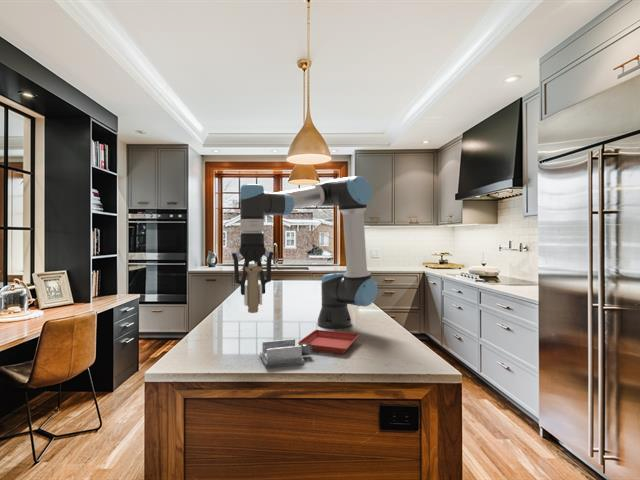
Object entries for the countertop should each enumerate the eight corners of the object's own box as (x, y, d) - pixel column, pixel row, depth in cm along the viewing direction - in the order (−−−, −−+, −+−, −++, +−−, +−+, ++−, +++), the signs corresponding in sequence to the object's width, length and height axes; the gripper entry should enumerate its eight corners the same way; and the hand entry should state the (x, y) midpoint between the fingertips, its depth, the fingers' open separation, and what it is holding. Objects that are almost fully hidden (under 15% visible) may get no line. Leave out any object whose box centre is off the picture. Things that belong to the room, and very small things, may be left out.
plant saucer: (346, 357, 123) (346, 347, 123) (297, 351, 130) (297, 342, 130) (359, 342, 140) (359, 333, 140) (315, 337, 147) (315, 329, 146)
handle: (244, 310, 123) (244, 265, 122) (264, 310, 122) (263, 265, 122) (241, 314, 118) (241, 267, 117) (261, 313, 118) (261, 267, 117)
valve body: (305, 351, 129) (305, 336, 129) (316, 362, 118) (316, 346, 117) (260, 355, 124) (260, 340, 124) (266, 368, 112) (266, 351, 112)
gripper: (225, 232, 113) (226, 308, 114) (280, 232, 118) (281, 304, 119) (224, 232, 120) (225, 303, 121) (276, 232, 126) (276, 300, 126)
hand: (253, 304), depth 120 cm, fingers closed on handle, 4 cm apart
